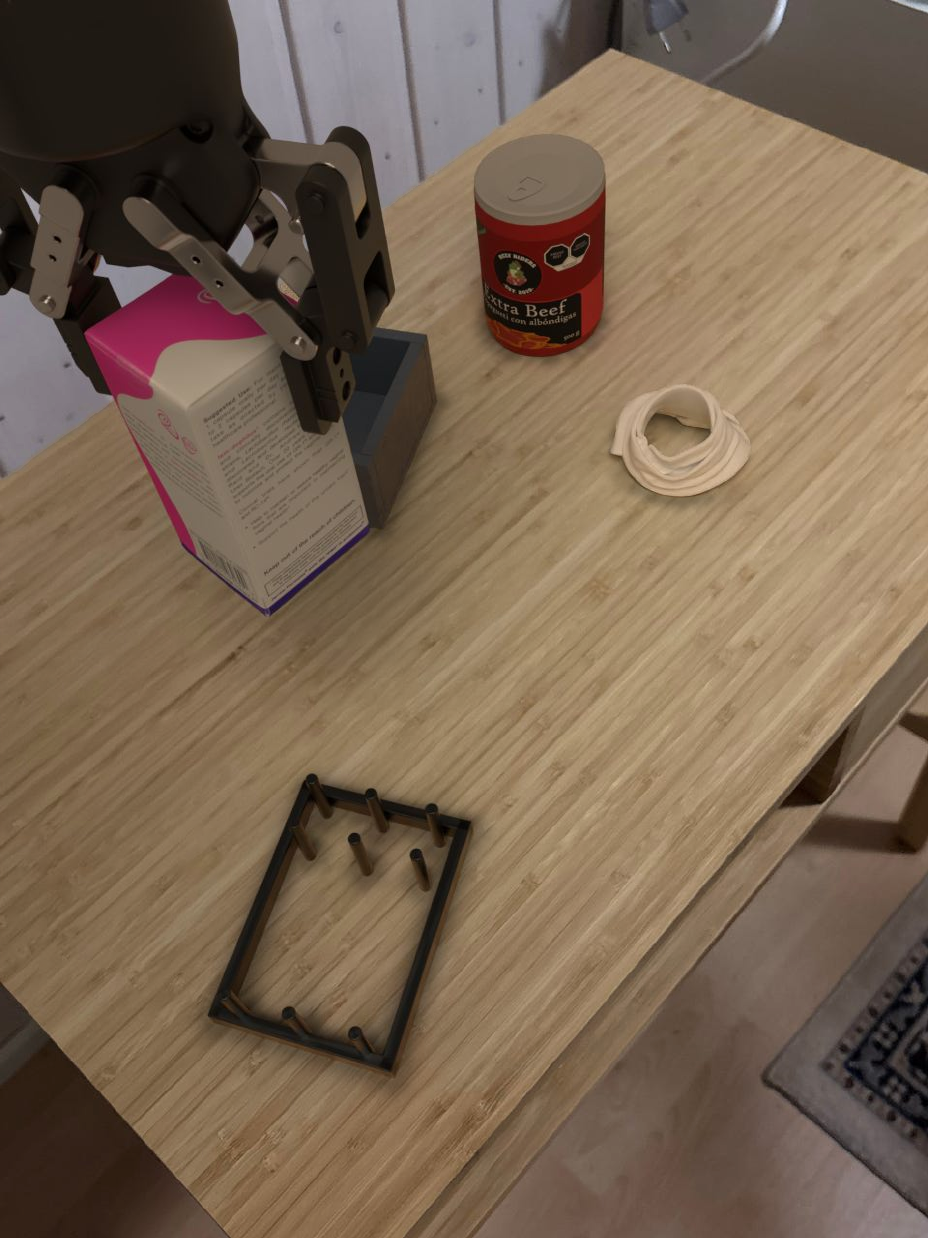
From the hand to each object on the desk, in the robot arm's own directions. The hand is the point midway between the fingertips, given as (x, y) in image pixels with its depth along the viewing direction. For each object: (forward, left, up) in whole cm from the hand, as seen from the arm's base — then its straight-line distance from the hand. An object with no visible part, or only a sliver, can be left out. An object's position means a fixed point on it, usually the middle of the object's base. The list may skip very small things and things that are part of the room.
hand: (222, 396), depth 40 cm
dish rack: (-10, -4, -24) cm, 26 cm away
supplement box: (0, 0, -8) cm, 8 cm away
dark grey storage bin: (+18, +8, -24) cm, 31 cm away
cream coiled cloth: (+22, -13, -25) cm, 36 cm away
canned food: (+32, -2, -25) cm, 40 cm away
